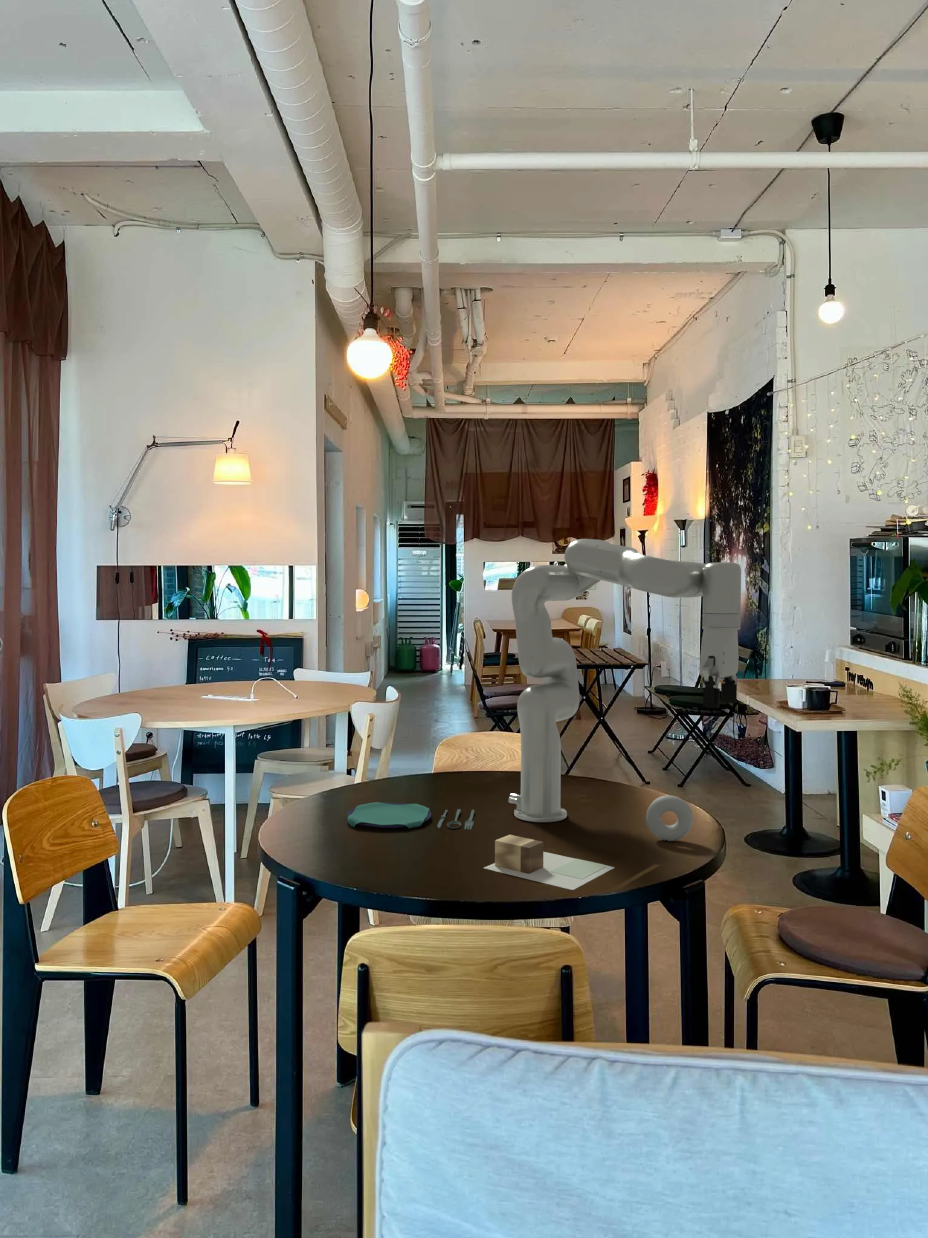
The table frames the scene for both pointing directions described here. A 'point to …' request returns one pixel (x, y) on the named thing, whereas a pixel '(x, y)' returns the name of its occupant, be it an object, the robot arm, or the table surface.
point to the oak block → (519, 854)
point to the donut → (669, 831)
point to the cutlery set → (397, 815)
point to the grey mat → (560, 871)
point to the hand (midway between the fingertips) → (720, 704)
